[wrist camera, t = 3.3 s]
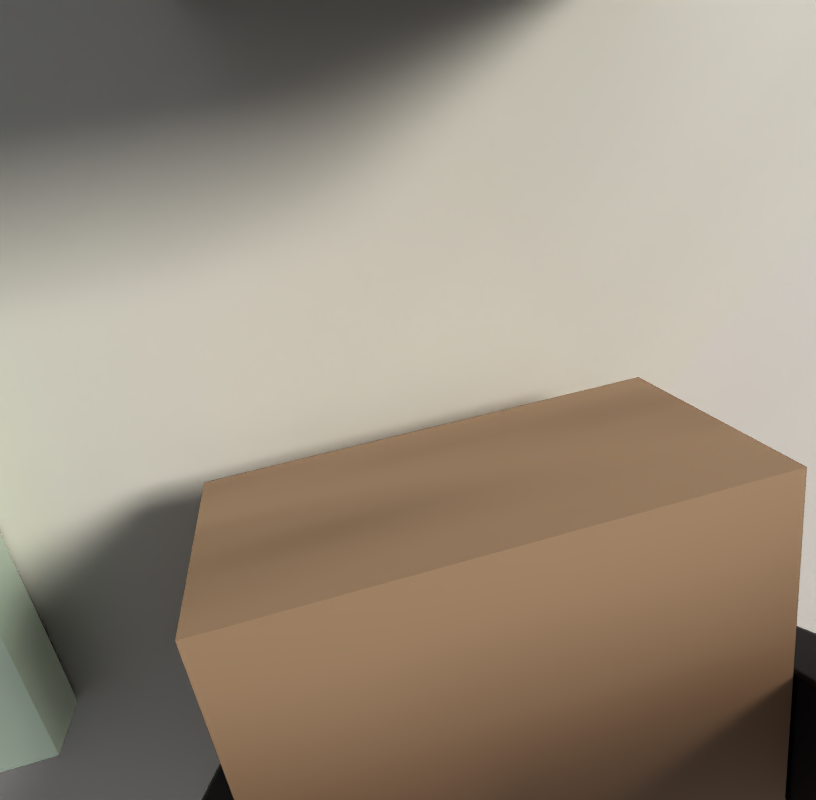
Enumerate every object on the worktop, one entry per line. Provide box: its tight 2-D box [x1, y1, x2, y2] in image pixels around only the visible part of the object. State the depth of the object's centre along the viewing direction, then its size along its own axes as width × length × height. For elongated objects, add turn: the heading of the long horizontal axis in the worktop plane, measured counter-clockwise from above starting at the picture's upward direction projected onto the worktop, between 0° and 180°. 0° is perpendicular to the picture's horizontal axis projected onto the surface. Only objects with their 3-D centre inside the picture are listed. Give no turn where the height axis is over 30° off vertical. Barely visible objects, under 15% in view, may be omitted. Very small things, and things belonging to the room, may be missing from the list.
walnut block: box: [175, 377, 807, 800], centre depth 8 cm, size 7×6×3 cm
